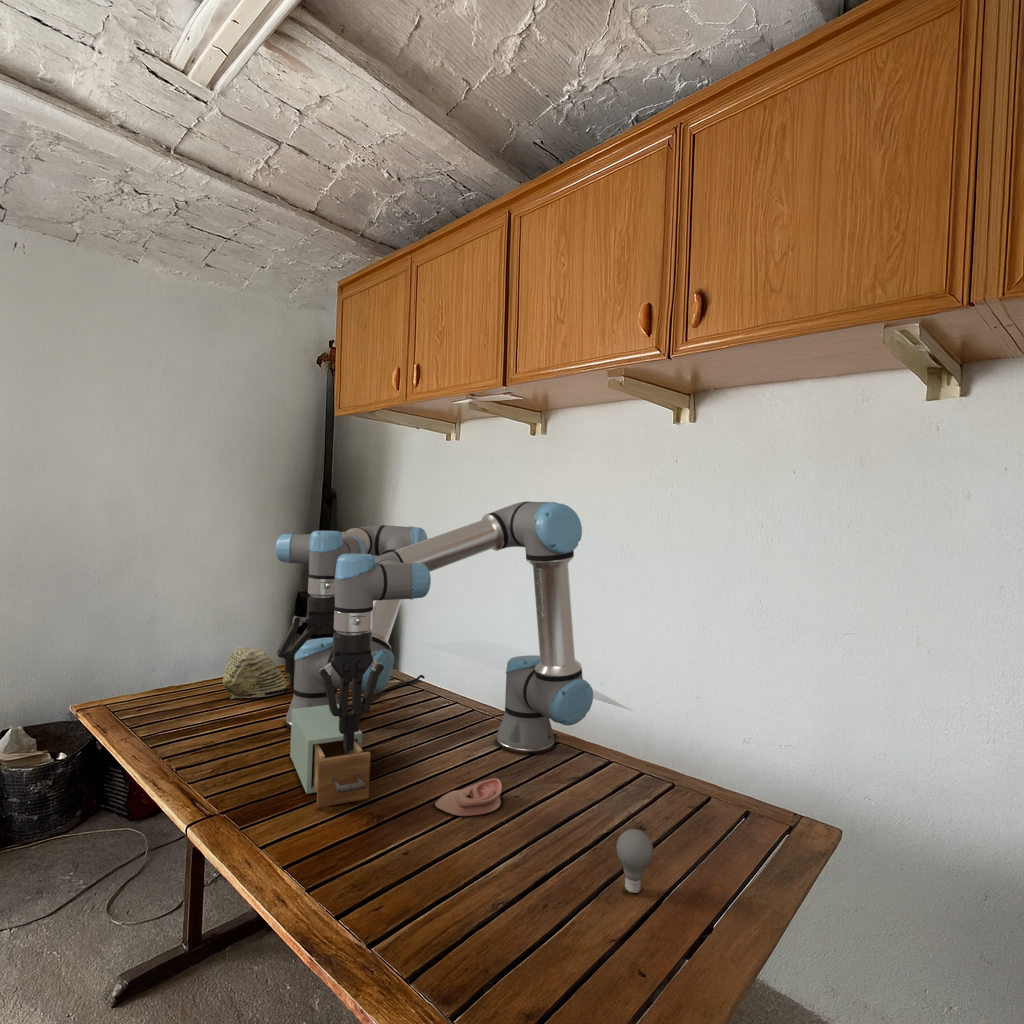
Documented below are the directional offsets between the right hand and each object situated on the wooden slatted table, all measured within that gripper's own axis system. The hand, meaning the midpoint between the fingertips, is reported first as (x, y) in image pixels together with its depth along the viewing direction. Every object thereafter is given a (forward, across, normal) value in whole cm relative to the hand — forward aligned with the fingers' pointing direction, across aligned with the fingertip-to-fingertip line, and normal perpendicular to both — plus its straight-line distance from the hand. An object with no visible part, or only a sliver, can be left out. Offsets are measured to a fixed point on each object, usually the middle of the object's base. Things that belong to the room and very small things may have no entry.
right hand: (348, 748), depth 127 cm
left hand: (-5, 0, +28) cm, 29 cm away
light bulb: (+13, +37, -44) cm, 59 cm away
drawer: (+12, 0, +10) cm, 16 cm away
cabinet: (+13, 0, +22) cm, 26 cm away
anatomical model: (+13, +24, -6) cm, 28 cm away
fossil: (+13, -9, +85) cm, 86 cm away
